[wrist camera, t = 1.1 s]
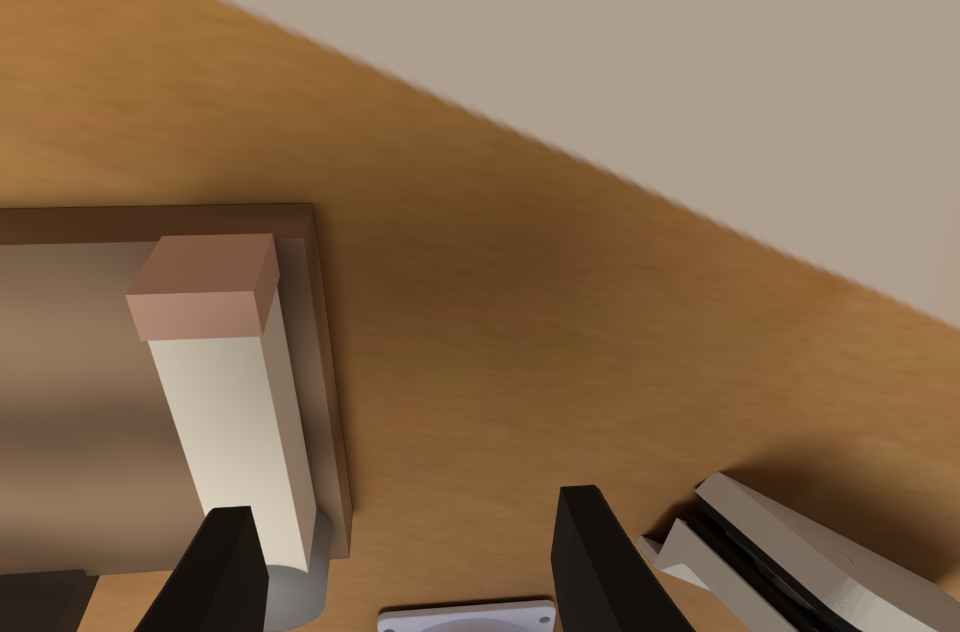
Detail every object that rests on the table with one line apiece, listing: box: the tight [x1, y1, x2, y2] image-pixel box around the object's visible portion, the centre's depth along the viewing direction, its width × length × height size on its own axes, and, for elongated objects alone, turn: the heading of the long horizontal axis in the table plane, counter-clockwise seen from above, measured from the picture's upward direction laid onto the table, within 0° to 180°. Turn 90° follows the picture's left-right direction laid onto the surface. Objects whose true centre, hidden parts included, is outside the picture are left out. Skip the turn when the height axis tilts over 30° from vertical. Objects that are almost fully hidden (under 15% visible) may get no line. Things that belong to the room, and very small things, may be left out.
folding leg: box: [125, 233, 332, 631], centre depth 19 cm, size 13×3×3 cm, turn 178°
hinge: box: [635, 472, 960, 632], centre depth 27 cm, size 17×5×10 cm, turn 54°
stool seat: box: [0, 203, 353, 632], centre depth 19 cm, size 14×16×5 cm
